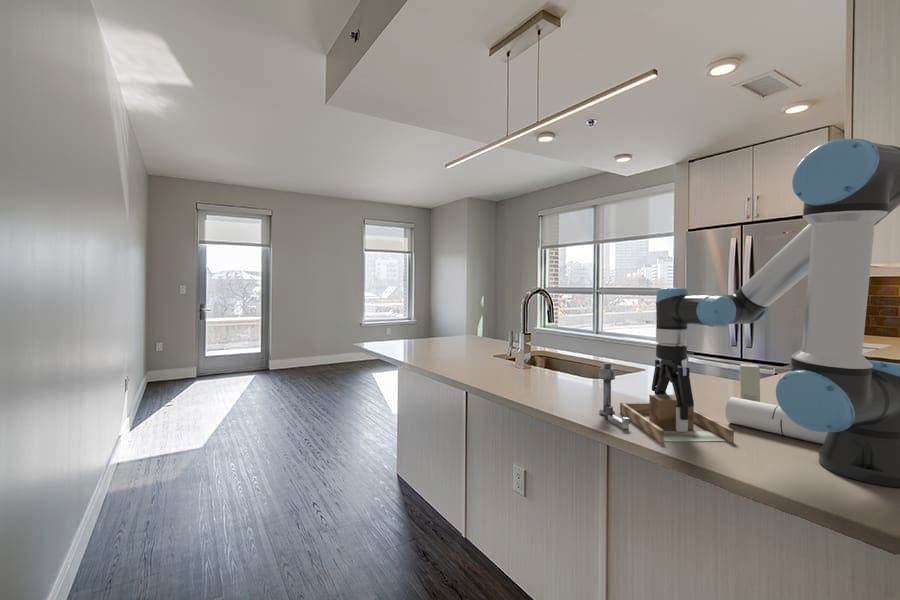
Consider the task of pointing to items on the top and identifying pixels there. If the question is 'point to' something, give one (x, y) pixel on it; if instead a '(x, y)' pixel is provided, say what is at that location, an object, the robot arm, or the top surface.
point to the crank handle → (617, 418)
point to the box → (750, 382)
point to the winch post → (606, 385)
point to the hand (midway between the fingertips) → (670, 424)
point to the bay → (660, 435)
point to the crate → (666, 412)
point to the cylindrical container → (768, 419)
